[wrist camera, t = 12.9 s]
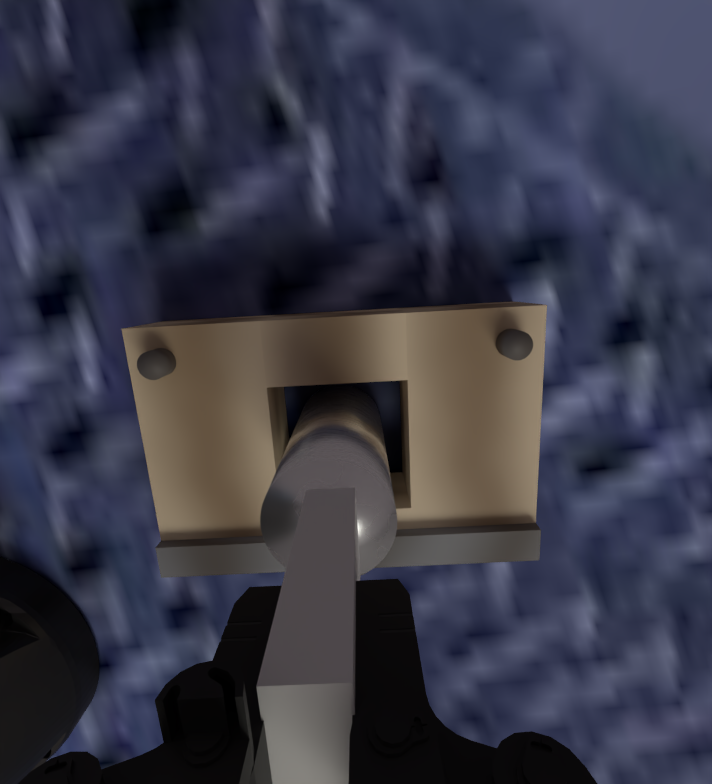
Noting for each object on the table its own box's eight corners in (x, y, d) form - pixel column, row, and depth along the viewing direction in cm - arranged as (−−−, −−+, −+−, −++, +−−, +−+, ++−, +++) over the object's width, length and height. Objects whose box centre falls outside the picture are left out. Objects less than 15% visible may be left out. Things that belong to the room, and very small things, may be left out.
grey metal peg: (304, 462, 24) (268, 585, 14) (296, 386, 23) (252, 463, 13) (382, 458, 24) (399, 579, 14) (378, 381, 23) (394, 455, 13)
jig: (196, 528, 25) (158, 586, 20) (163, 321, 22) (108, 331, 17) (506, 513, 25) (542, 569, 20) (513, 301, 22) (557, 306, 17)
